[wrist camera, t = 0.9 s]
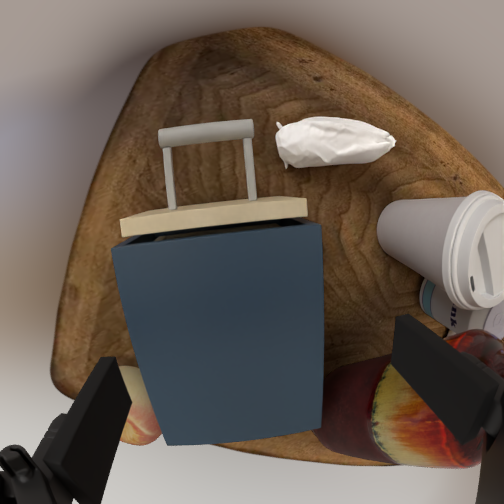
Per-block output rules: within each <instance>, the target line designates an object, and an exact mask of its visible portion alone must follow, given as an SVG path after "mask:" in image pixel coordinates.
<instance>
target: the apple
mask: <svg viewBox="0 0 504 504" xmlns="http://www.w3.org/2000/svg"><path fill="white" fill-rule="evenodd" d="M119 369H120V371H121V374H122V377H123V380H124V382H125V385H126V387H127V390H128V392H129V395H130V397H131V400H132V402H133V403H132V405H131V408H130V411H129V414H128V417H127V420H126V423H125V426H124V429H123V432H122V435H121V438H120V441H122V442H125V443H128V444H132V445H139V446H140V445H146V444H149V443H151V442H153V441H155V440H156V439H157V438H158V437H159V436H160V435H161V434H162V432H161V429H160V426H159V424H158V421H157V419H156V416H155V413H154V411H153V408H152V405H151V402H150V399H149V397H148V394H147V391H146V388H145V385H144V382H143V379H142V376H141V372H140V369H139V368H137V367H133V366H119Z"/></svg>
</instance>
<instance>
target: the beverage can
mask: <svg viewBox="0 0 504 504" xmlns="http://www.w3.org/2000/svg"><path fill="white" fill-rule="evenodd" d="M420 305H421V308H422V310H423V311H424V312H425V313H426V314H427V315H429V316H430V317H432V318H433V319H435V320H437V321H438V322H440V323H441V324H443V325H444V326H446V327H447V328H449V329H450V330H452V331H453V332H455V333H456V334H458V333H461V332H464V331H467V330H471V329H483V330H486V331H488V332H490V333H492V334H494V335H495V336H497V337H498V338H499V339H500V340H501V339H502V338H503V337H504V300H502V301H501V302H500V303H499V304H497V305H496V306H494V307H491V308H483V309H480V310H466V309H461V308H459V307H457V306H456V305H455V304H454V303H453V302H452V301H451V300H450V298H449V297H448V295H447V292H446V291H444V290H443V289H441V288H440V287H438V286H437V285H435V284H434V283H432V282H431V281H429V280H428V279H426V278H425V279H424V281H423V283H422V286H421V289H420Z"/></svg>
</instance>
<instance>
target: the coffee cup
mask: <svg viewBox="0 0 504 504" xmlns="http://www.w3.org/2000/svg"><path fill="white" fill-rule="evenodd" d="M377 237H378V241H379V244H380V246H381V248H382V249H383V250H384V251H385V252H386V253H387V254H388V255H390V256H392V257H393V258H395V259H396V260H398V261H400V262H401V263H403V264H404V265H406V266H408V267H409V268H411V269H412V270H414V271H415V272H417V273H419V274H420V275H422V276H423V277H425V278H426V279H428V280H429V281H431V282H432V283H434V284H435V285H437V286H438V287H440V288H441V289H443V290H444V291H446V292H447V295H448V297H449V298H450V300H451V301H452V302H453V303H454V304H455V305H456V306H457V307H459V308H461V309H466V310H480V309H483V308H491V307H494V306H496V305H497V304H499V303H500V302H501V301H502V300H504V200H503V199H502V198H500V197H499V196H498V195H496V194H494V193H492V192H489V191H485V190H481V191H476V192H474V193H472V194H470V195H469V196H468V197H453V198H432V199H412V200H398V201H394V202H392V203H390V204H389V205H388V206H386V207H385V209H384V210H383V211H382V213H381V215H380V217H379V220H378V224H377Z"/></svg>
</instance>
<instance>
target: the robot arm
mask: <svg viewBox="0 0 504 504" xmlns="http://www.w3.org/2000/svg"><path fill="white" fill-rule="evenodd" d="M391 365H392V366H393V367H394V368H395V369H396V371H397V372H398V373H399V374H400V375H401V376H402V377H403V378H404V379H405V381H406V382H407V383H408V384H409V385H410V386H411V387H412V388H413V390H414V391H415V392H416V393H417V394H418V395H419V396H420V397H421V399H422V400H423V401H424V402H425V403H426V404H427V405H428V406H429V408H430V409H431V410H432V411H433V412H434V413H435V414H436V416H437V417H438V418H439V419H440V420H441V421H442V422H443V424H444V425H445V426H446V427H447V428H448V429H449V431H450V432H451V433H452V434H453V435H454V436H455V438H456V439H457V440H458V441H459V442H460V443H461V445H462V446H463V445H464V444H466V443H468V442H469V441H471V440H473V439H474V438H476V437H477V435H478V433H479V431H480V429H481V427H482V428H483V429H484V430H485V433H484V435H483V437H482V439H481V441H480V442H479V444H478V446H477V449H476V450H479V449H480V447H481V445H482V444H483V446H482V459H481V469H480V478H479V485H478V492H477V498H476V503H475V504H504V379H503V378H502V377H501V376H500V375H498V374H497V373H496V372H494V371H493V370H492V369H491V368H489V367H487V365H485V364H484V363H483V362H481V361H480V360H479V359H478V358H476V357H475V356H474V355H471V354H469V353H466V352H464V351H463V352H459V351H458V350H456V349H455V348H454V347H452V346H451V345H450V344H448V343H447V342H446V341H445V340H443V339H442V338H441V337H439V336H438V335H437V334H435V333H434V332H433V331H431V330H430V329H429V328H427V327H426V326H425V325H423V324H422V323H421V322H419V321H418V320H416V319H415V318H414V317H412V316H411V315H410V314H405V315H401V316H397V317H396V320H395V331H394V340H393V349H392V357H391ZM132 403H133V402H132V400H131V397H130V395H129V392H128V390H127V387H126V385H125V382H124V380H123V377H122V374H121V371H120V369H119V366H118V363H117V360H116V357H101V358H100V359H99V361H98V363H97V364H96V366H95V367H94V369H93V371H92V372H91V374H90V376H89V377H88V379H87V381H86V382H85V384H84V386H83V387H82V389H81V391H80V392H79V394H78V396H77V397H76V399H75V401H74V403H73V404H72V406H71V408H70V410H69V411H68V413H67V414H63V413H61V414H60V415H59V416H58V417H56V418H55V419H54V420H53V421H52V423H51V425H50V426H49V428H48V431H47V432H46V433H45V435H44V438H43V439H42V440H41V442H40V444H39V446H38V448H37V449H36V451H35V453H34V455H33V457H32V458H31V457H30V455H29V454H28V453H27V451H26V450H25V449H24V448H23V447H22V446H20V445H10V446H7V447H5V448H4V449H3V450H2V451H1V452H0V466H1V468H2V469H3V470H4V471H0V504H72V501H73V498H74V499H75V500H77V502H78V503H79V504H101V501H102V498H103V494H104V490H105V487H106V483H107V480H108V476H109V473H110V470H111V467H112V463H113V460H114V457H115V454H116V450H117V447H118V444H119V441H120V438H121V435H122V432H123V429H124V426H125V423H126V420H127V417H128V414H129V411H130V408H131V405H132Z"/></svg>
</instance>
